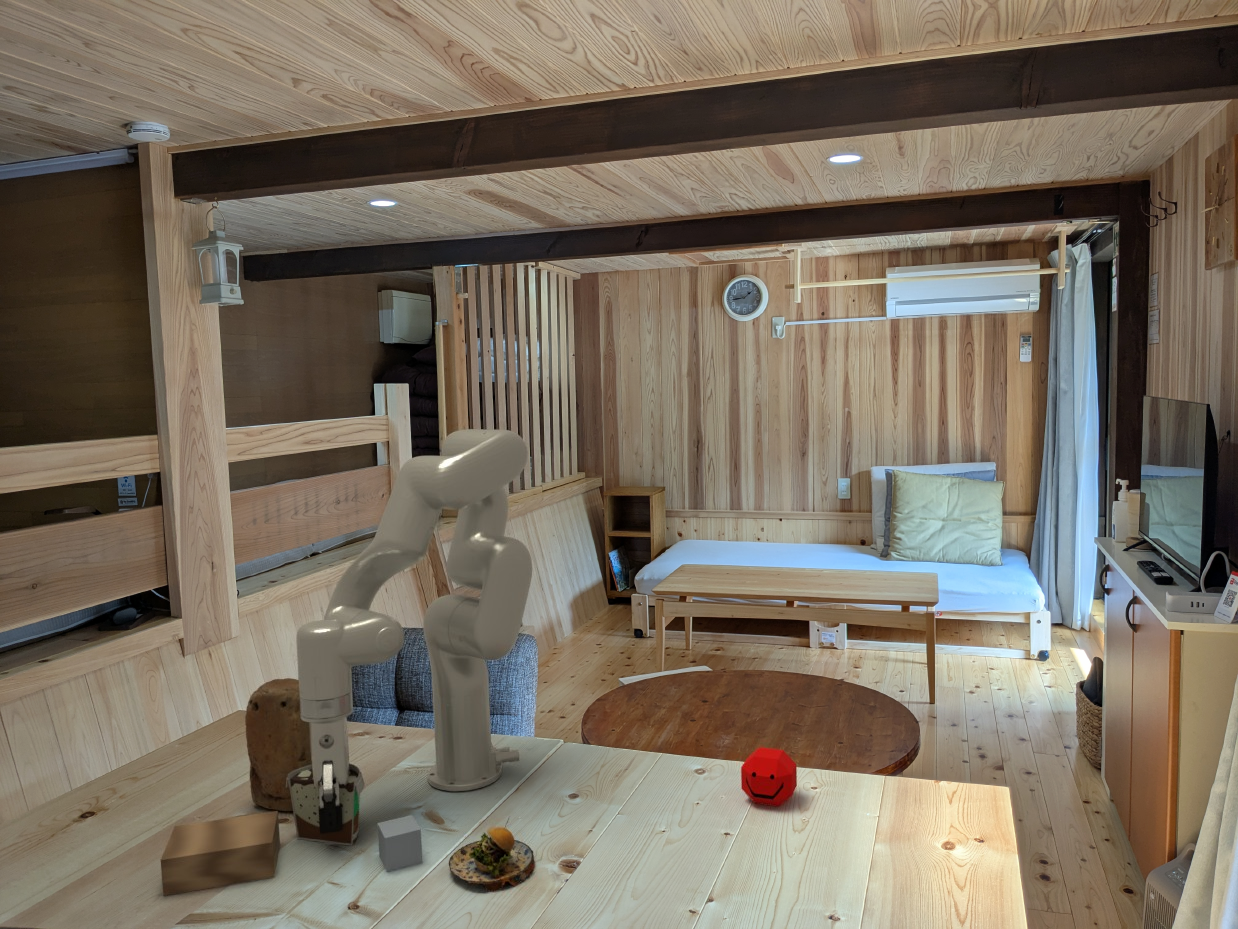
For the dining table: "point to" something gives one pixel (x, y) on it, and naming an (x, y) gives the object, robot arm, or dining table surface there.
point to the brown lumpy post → (275, 742)
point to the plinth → (220, 853)
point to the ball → (769, 776)
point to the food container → (309, 801)
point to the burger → (493, 860)
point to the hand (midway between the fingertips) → (331, 819)
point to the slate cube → (399, 843)
